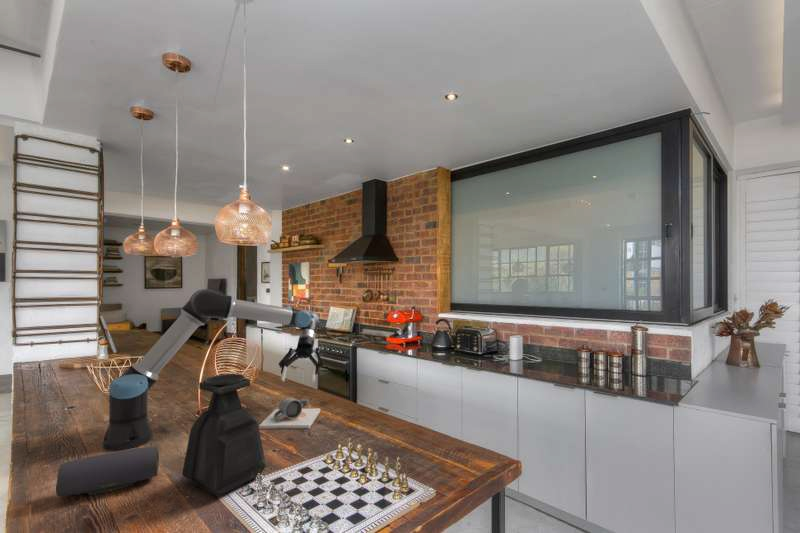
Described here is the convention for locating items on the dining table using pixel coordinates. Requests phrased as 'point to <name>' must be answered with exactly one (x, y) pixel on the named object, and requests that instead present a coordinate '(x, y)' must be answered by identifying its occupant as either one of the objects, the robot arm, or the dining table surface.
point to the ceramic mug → (289, 409)
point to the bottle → (224, 439)
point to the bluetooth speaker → (107, 471)
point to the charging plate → (300, 422)
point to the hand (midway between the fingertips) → (297, 380)
